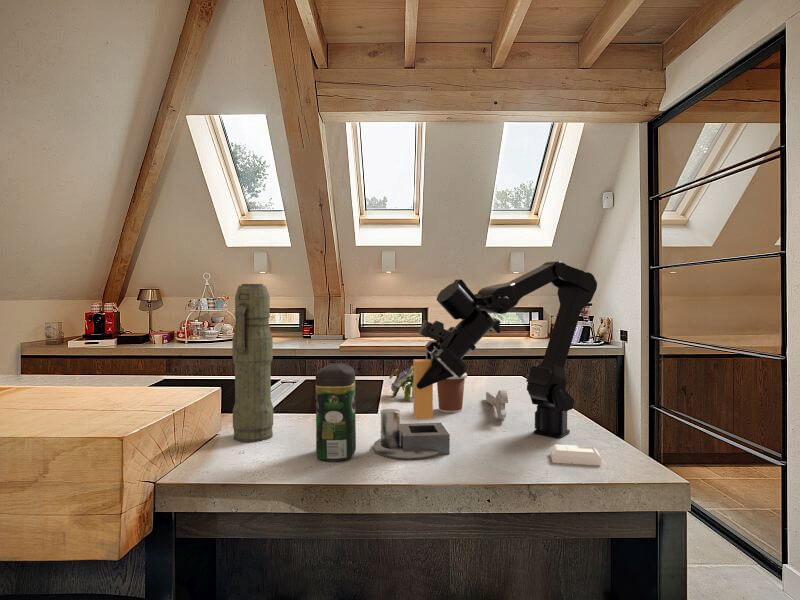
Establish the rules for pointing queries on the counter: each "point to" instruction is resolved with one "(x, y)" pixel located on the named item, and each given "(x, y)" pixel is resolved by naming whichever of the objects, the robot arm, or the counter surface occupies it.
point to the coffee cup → (451, 393)
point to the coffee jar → (335, 412)
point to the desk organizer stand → (410, 438)
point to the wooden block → (422, 391)
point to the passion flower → (403, 383)
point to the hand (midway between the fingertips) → (416, 385)
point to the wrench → (498, 402)
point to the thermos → (252, 364)
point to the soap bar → (575, 454)
